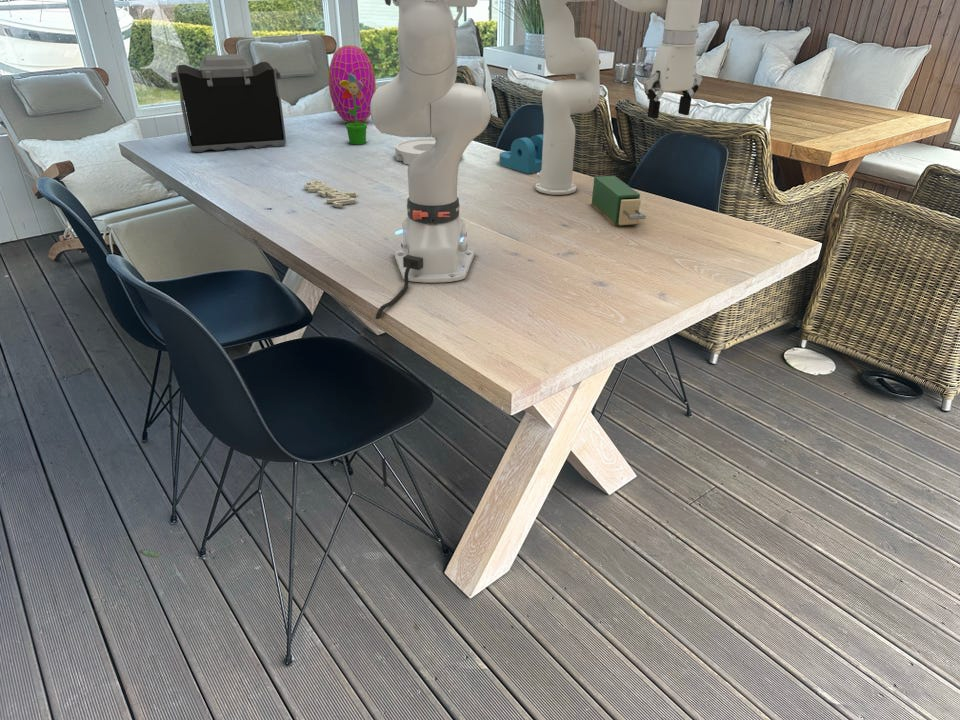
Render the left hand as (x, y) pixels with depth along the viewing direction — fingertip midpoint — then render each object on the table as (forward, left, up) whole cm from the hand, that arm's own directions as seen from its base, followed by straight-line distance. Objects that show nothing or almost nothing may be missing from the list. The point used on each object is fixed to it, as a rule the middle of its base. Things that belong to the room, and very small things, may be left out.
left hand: (435, 27), depth 166 cm
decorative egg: (+122, +36, -47) cm, 135 cm away
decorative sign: (+20, +32, -47) cm, 60 cm away
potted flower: (+85, +31, -47) cm, 102 cm away
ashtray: (+63, +4, -47) cm, 78 cm away
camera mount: (+51, -28, -47) cm, 75 cm away
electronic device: (+85, +76, -47) cm, 123 cm away
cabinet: (0, -49, -47) cm, 68 cm away
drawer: (-5, -49, -46) cm, 68 cm away
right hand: (-14, -56, -18) cm, 60 cm away
